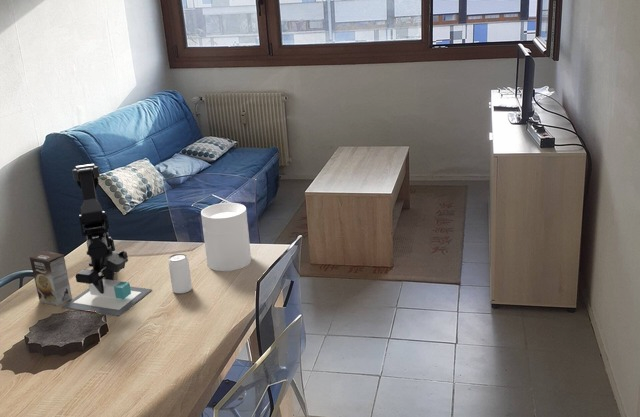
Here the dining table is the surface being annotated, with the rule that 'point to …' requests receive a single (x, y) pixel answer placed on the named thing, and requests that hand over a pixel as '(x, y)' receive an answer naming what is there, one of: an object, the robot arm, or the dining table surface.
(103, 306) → the desk mat
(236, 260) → the canister
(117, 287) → the marker
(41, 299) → the coffee box
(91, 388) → the dining table surface
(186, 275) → the can
